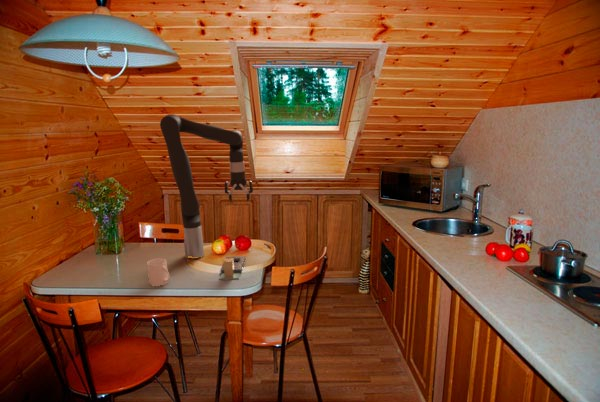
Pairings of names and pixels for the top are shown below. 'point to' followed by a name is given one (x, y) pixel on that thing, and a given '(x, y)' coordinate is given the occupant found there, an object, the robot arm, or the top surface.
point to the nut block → (229, 267)
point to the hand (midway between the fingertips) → (239, 200)
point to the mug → (157, 271)
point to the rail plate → (236, 264)
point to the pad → (222, 277)
